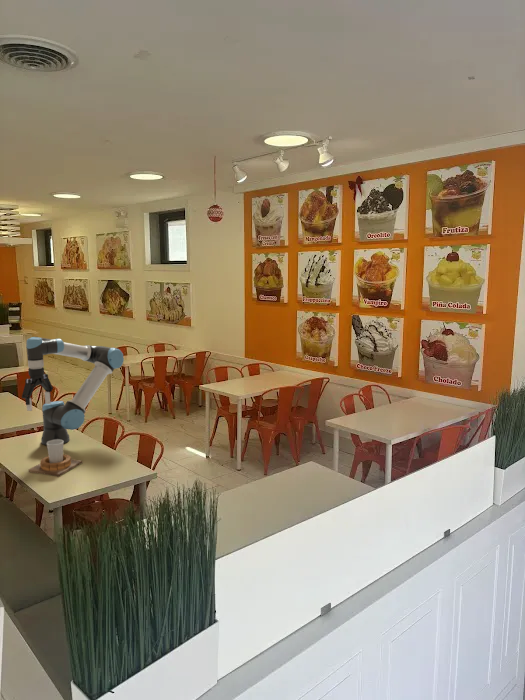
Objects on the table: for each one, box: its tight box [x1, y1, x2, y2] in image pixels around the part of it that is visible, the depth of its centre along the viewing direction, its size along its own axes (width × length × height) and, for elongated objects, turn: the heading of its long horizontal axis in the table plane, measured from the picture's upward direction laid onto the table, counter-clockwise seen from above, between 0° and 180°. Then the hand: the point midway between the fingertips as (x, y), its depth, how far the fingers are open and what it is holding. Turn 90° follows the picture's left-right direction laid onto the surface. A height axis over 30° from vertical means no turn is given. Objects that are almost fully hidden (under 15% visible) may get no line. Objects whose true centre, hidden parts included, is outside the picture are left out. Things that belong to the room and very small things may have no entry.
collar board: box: [28, 453, 83, 477], centre depth 266 cm, size 18×18×4 cm
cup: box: [46, 439, 65, 463], centre depth 266 cm, size 8×8×12 cm
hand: (38, 407), depth 278 cm, fingers open, 13 cm apart
